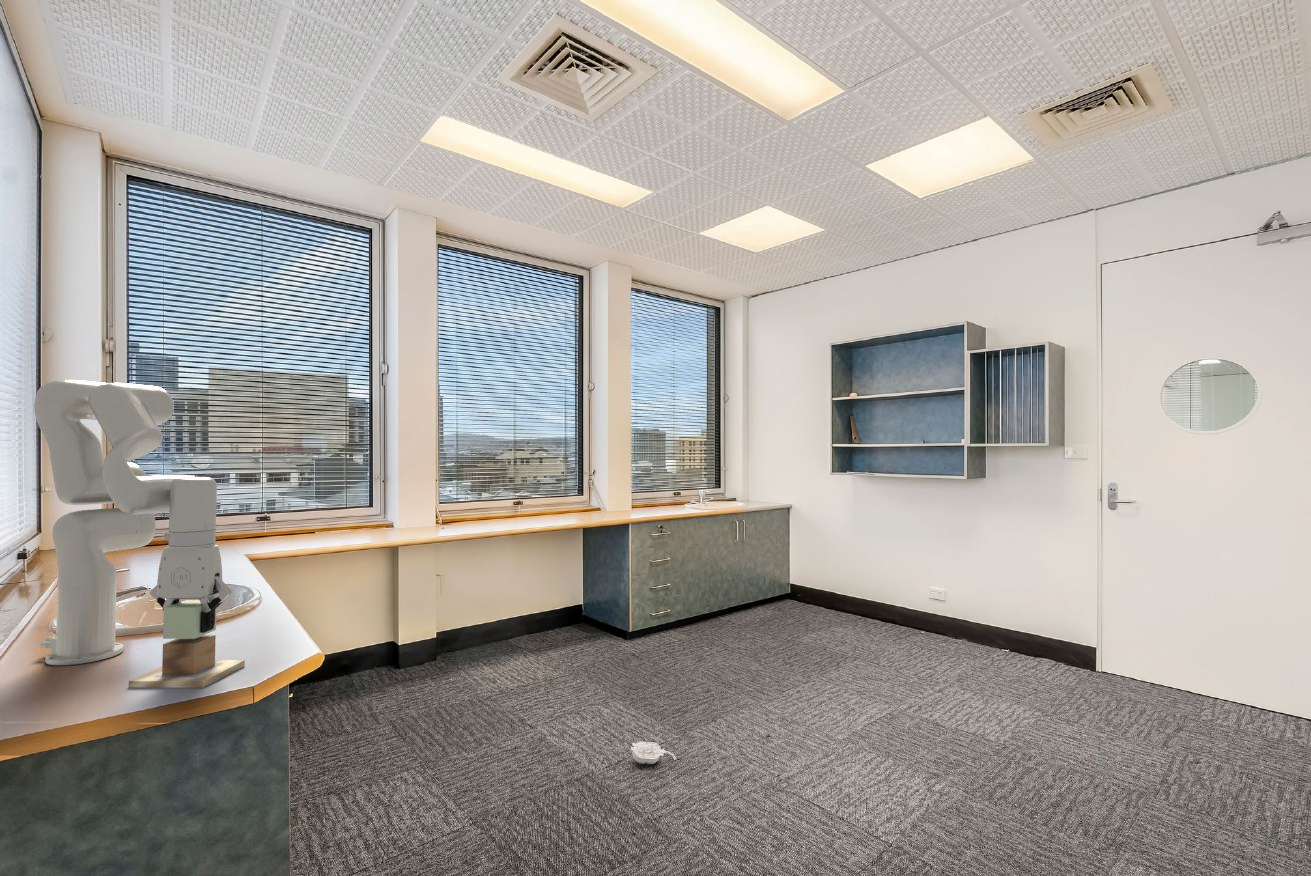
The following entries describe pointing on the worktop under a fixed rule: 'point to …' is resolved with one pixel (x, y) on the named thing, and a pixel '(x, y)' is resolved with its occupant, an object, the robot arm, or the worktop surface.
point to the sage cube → (183, 620)
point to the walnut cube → (188, 655)
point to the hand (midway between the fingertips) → (190, 629)
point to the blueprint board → (187, 676)
